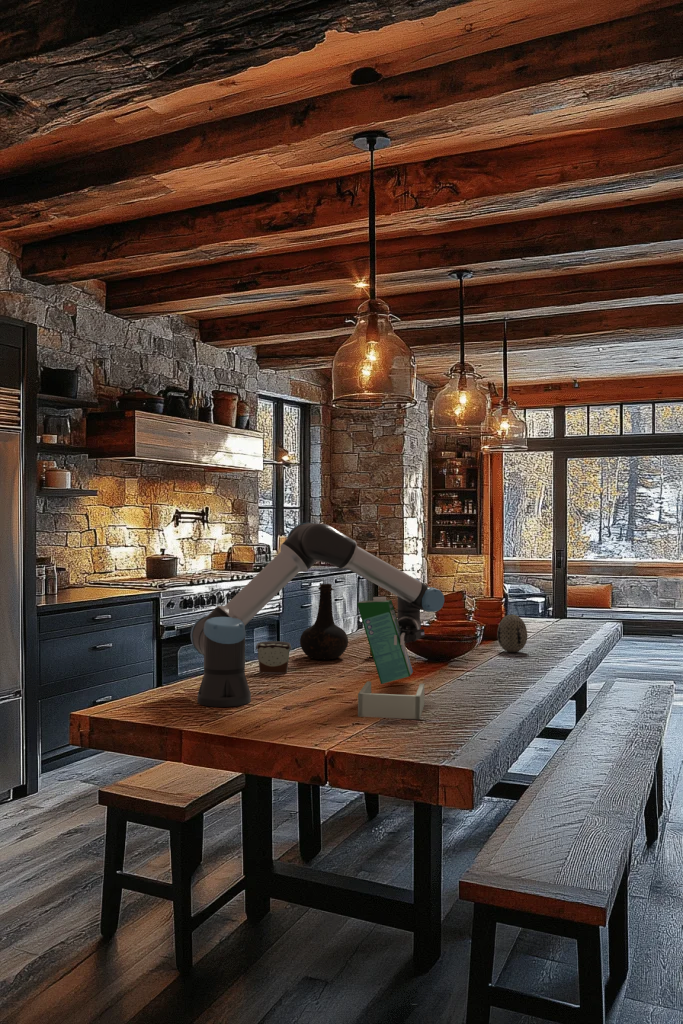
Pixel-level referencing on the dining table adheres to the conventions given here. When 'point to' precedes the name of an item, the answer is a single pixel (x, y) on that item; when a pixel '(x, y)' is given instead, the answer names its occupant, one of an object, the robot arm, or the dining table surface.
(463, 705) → the dining table surface
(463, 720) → the dining table surface
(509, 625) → the decorative egg
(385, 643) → the milk carton
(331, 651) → the glass bottle
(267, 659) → the food container
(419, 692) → the box
